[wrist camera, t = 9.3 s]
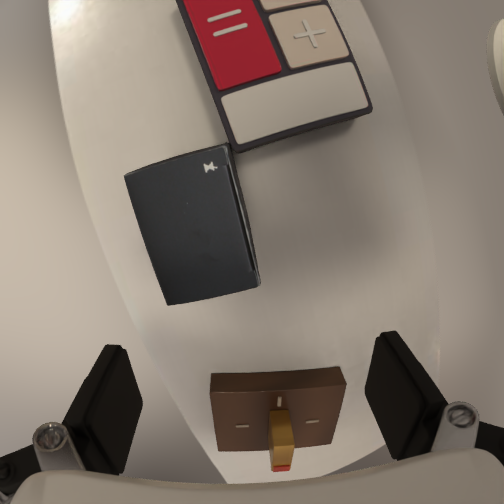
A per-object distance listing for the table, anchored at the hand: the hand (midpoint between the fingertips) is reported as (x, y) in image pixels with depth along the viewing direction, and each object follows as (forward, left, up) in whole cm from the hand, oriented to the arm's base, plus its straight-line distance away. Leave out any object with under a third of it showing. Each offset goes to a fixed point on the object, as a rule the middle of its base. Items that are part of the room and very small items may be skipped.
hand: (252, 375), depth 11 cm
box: (+3, -4, -17) cm, 18 cm away
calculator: (-2, -16, -17) cm, 24 cm away
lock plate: (-3, +20, -17) cm, 27 cm away
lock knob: (-3, +20, -14) cm, 25 cm away
